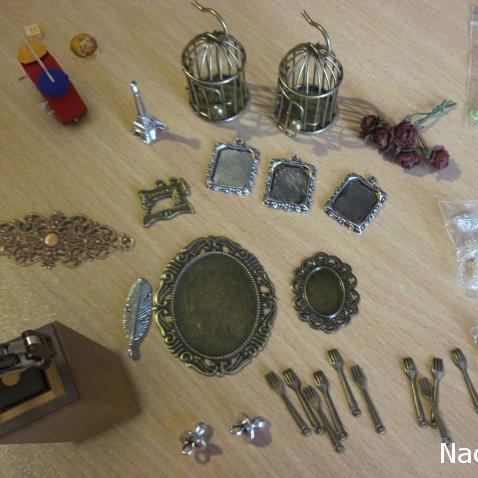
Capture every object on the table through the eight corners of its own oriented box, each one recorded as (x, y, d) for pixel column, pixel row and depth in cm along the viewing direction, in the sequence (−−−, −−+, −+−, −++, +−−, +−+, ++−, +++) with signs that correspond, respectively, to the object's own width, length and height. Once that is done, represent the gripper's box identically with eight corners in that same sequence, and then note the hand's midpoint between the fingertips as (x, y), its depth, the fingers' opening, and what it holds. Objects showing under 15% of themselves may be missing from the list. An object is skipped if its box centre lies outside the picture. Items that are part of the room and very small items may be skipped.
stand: (79, 442, 102) (-16, 445, 68) (57, 382, 105) (-44, 356, 71) (141, 411, 105) (79, 399, 71) (118, 354, 108) (49, 316, 74)
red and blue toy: (96, 123, 124) (66, 68, 106) (61, 143, 122) (24, 90, 103) (62, 78, 128) (27, 16, 109) (28, 96, 125) (-15, 36, 106)
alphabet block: (28, 35, 131) (23, 26, 128) (41, 31, 131) (36, 22, 128) (32, 45, 130) (26, 36, 127) (45, 41, 130) (40, 32, 128)
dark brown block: (7, 408, 71) (-6, 407, 68) (-6, 370, 72) (-19, 367, 69) (49, 389, 72) (38, 386, 69) (36, 351, 74) (25, 347, 70)
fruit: (95, 72, 129) (90, 61, 125) (64, 57, 129) (58, 46, 126) (115, 46, 132) (111, 36, 128) (84, 32, 132) (80, 21, 129)
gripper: (-130, 431, 51) (-39, 432, 66) (25, 361, 54) (78, 377, 70) (-148, 357, 53) (-56, 375, 68) (1, 294, 56) (58, 324, 72)
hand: (12, 376), depth 69 cm, fingers open, 8 cm apart
